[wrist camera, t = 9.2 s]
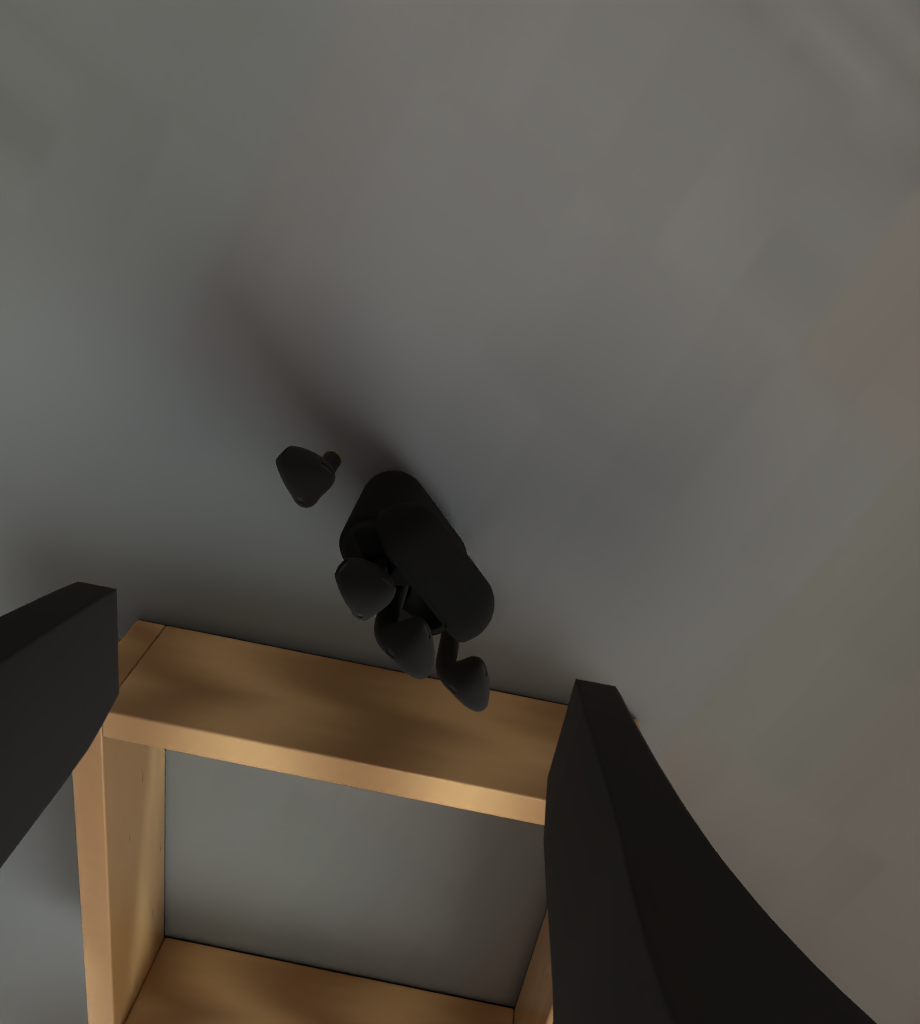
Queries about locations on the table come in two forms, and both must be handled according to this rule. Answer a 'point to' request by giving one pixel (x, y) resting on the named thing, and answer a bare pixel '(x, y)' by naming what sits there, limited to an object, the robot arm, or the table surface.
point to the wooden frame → (293, 750)
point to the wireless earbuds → (404, 573)
